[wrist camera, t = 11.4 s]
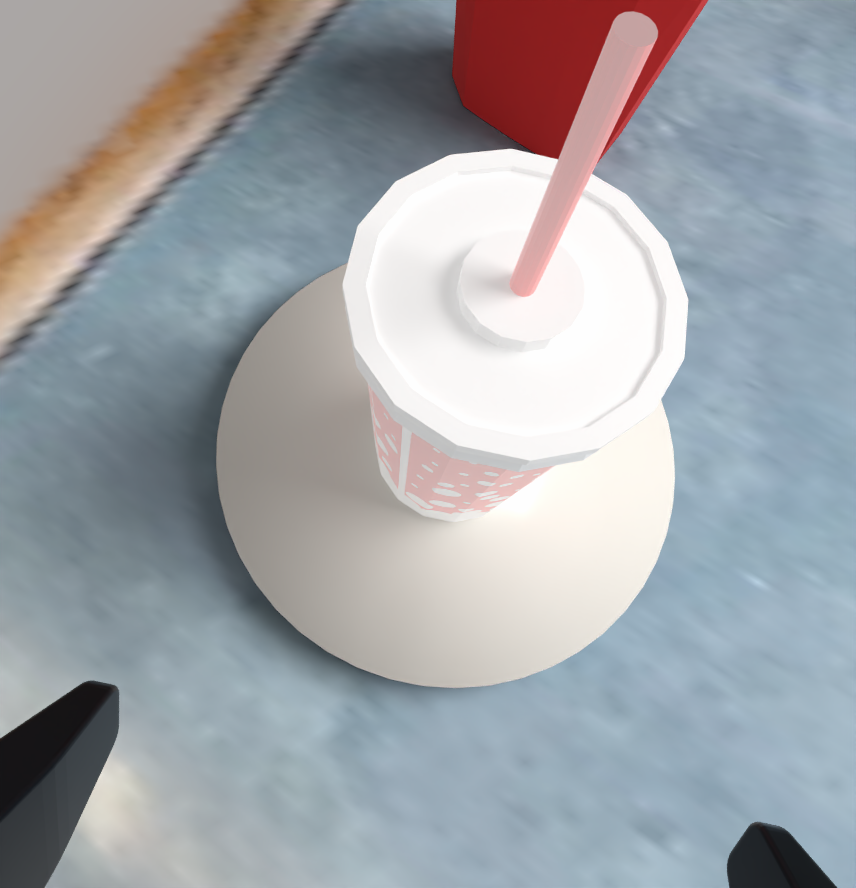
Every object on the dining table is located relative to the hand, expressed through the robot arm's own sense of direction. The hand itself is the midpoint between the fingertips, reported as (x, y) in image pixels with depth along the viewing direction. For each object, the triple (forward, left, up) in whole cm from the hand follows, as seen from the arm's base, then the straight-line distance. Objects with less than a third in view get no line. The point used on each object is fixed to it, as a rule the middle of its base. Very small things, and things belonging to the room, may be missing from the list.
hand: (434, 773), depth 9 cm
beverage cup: (+8, +1, -9) cm, 12 cm away
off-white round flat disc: (+8, +1, -10) cm, 13 cm away
